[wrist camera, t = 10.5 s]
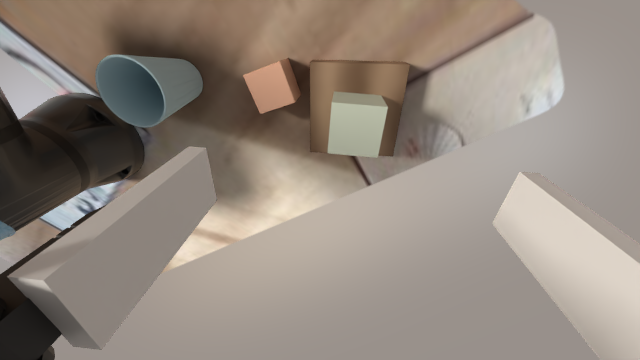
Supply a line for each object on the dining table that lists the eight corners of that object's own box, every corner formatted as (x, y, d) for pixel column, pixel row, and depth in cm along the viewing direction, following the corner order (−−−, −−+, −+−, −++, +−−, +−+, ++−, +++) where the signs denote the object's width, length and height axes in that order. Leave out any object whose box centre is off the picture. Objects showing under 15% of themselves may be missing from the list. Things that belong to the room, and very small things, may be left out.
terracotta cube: (270, 104, 36) (260, 114, 32) (255, 70, 34) (242, 75, 30) (301, 94, 35) (295, 102, 31) (288, 57, 33) (279, 61, 29)
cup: (177, 36, 33) (114, 36, 24) (221, 83, 35) (179, 100, 26) (149, 74, 36) (83, 87, 27) (191, 115, 38) (144, 139, 29)
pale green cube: (330, 135, 34) (327, 153, 29) (334, 91, 31) (331, 102, 26) (372, 139, 34) (377, 158, 29) (380, 95, 31) (387, 107, 26)
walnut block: (313, 141, 39) (310, 152, 36) (313, 59, 33) (309, 62, 30) (388, 145, 38) (392, 156, 35) (403, 61, 32) (410, 64, 29)
